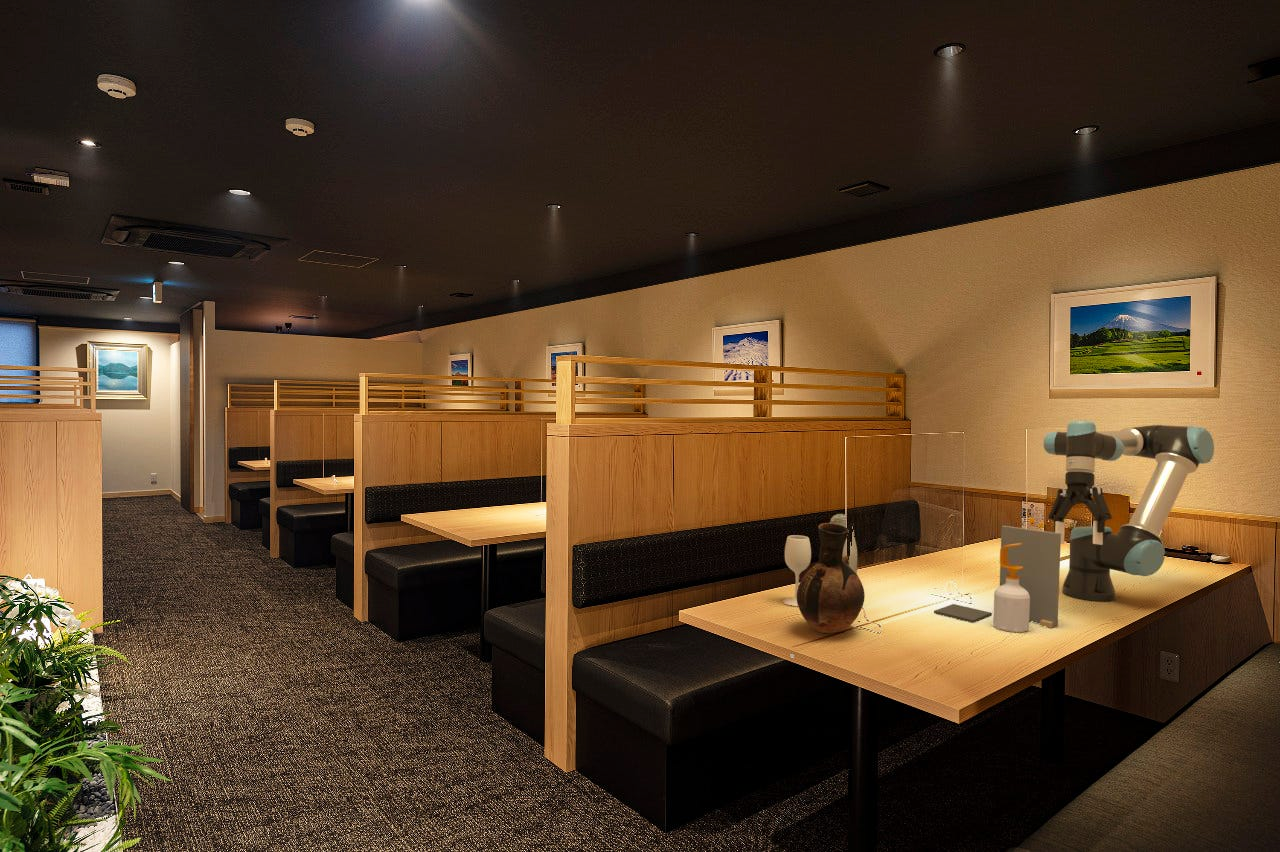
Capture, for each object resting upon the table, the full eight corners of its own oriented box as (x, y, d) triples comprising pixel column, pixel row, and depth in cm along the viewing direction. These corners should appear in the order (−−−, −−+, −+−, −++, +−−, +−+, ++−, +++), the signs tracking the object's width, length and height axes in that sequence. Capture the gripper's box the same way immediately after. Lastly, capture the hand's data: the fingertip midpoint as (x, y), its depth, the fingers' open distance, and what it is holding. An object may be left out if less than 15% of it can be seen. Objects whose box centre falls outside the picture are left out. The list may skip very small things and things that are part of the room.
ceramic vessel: (822, 616, 222) (825, 516, 220) (877, 629, 209) (880, 524, 208) (781, 631, 207) (784, 524, 206) (837, 647, 194) (840, 533, 193)
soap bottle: (1020, 635, 206) (1023, 547, 205) (987, 626, 213) (990, 541, 212) (1034, 628, 212) (1037, 543, 211) (1001, 621, 219) (1004, 538, 218)
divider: (1003, 612, 227) (1006, 525, 226) (1059, 625, 215) (1063, 532, 214) (996, 615, 224) (999, 526, 223) (1052, 628, 212) (1056, 534, 211)
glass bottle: (824, 595, 245) (826, 510, 243) (856, 598, 242) (858, 512, 240) (822, 603, 235) (824, 515, 234) (855, 606, 232) (858, 517, 231)
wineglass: (777, 602, 235) (778, 537, 234) (792, 597, 241) (794, 533, 240) (800, 608, 229) (802, 541, 228) (816, 603, 235) (817, 537, 234)
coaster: (953, 606, 234) (953, 603, 234) (991, 615, 224) (991, 612, 224) (933, 613, 226) (934, 610, 226) (973, 622, 217) (973, 620, 217)
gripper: (1037, 473, 234) (1034, 541, 230) (1105, 467, 210) (1104, 542, 206) (1056, 477, 236) (1054, 544, 232) (1127, 471, 212) (1125, 546, 208)
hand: (1077, 543), depth 219 cm, fingers open, 13 cm apart
